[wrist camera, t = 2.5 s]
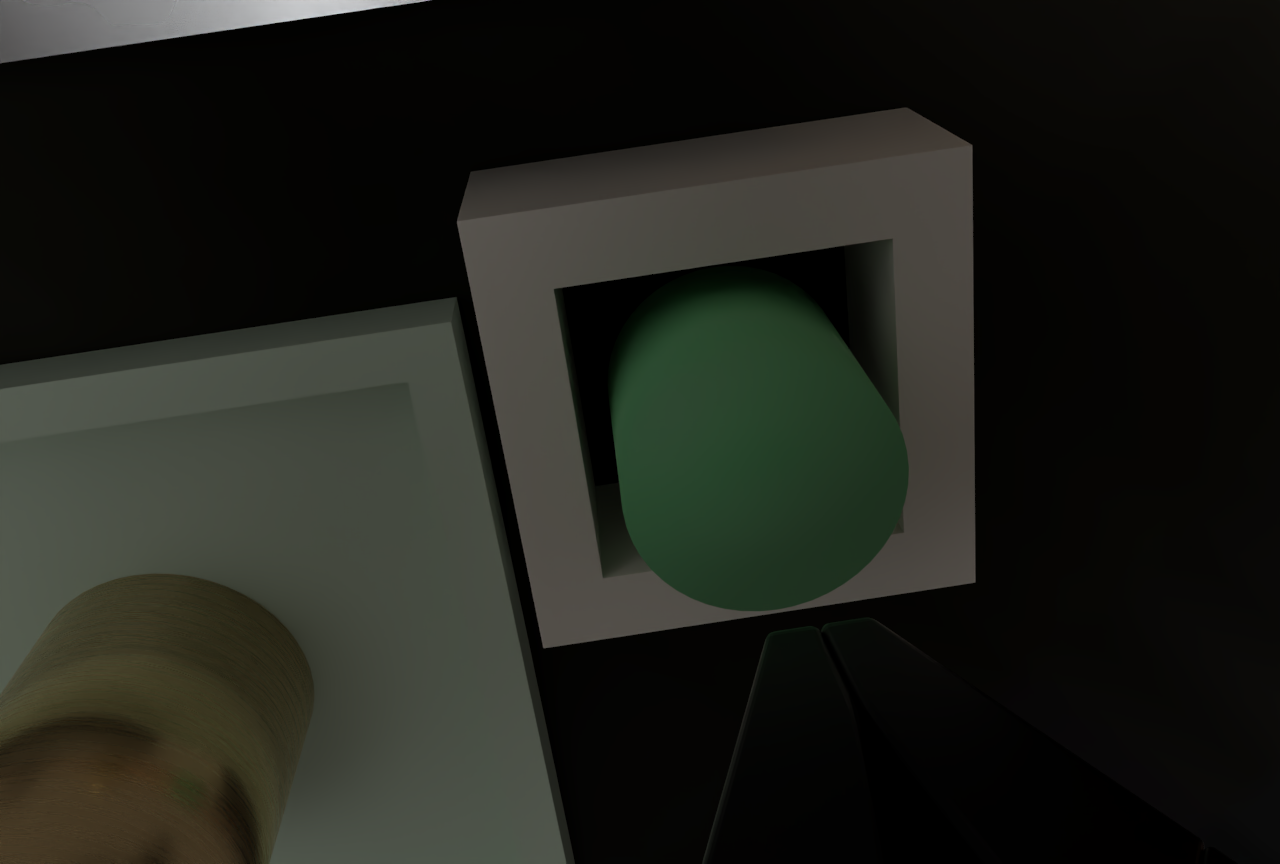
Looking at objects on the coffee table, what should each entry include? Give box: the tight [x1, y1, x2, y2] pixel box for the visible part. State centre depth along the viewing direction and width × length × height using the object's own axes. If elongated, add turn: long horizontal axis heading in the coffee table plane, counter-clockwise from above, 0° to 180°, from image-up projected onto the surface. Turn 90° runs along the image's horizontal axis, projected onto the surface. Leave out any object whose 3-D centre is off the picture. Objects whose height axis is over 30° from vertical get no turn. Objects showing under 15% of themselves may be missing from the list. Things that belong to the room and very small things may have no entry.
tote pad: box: [0, 297, 575, 864], centre depth 17 cm, size 10×10×1 cm
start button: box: [607, 266, 909, 611], centre depth 13 cm, size 3×3×3 cm
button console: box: [457, 107, 975, 648], centre depth 15 cm, size 6×6×2 cm
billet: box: [0, 574, 314, 864], centre depth 15 cm, size 4×4×6 cm
